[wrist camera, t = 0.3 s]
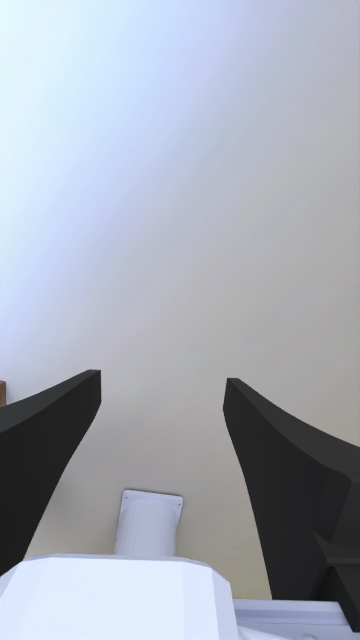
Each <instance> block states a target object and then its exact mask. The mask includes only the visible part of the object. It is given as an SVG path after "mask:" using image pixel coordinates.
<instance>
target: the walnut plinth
mask: <svg viewBox="0 0 360 640" xmlns="http://www.w3.org/2000/svg"><path fill="white" fill-rule="evenodd" d="M3 406H6V394H5V382H4V381H0V407H3Z"/></svg>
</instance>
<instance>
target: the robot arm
mask: <svg viewBox="0 0 360 640" xmlns="http://www.w3.org/2000/svg"><path fill="white" fill-rule="evenodd" d="M100 404H101V370H87V371H85V372H82V373H80V374H78V375H76V376H74V377H72V378H70V379H68V380H66V381H64V382H62V383H60V384H58V385H55V386H53V387H51V388H49V389H47V390H44V391H42V392H40V393H38V394H35V395H33V396H31V397H28V398H25V399H23V400H20V401H17V402H15V403H12V404H9V405H6V406H3V407H0V640H360V447H358V446H355V445H353V444H350V443H348V442H345V441H343V440H341V439H338V438H336V437H334V436H331V435H329V434H327V433H325V432H323V431H321V430H319V429H317V428H315V427H312V426H311V425H309V424H307V423H305V422H303V421H301V420H299V419H298V418H296V417H294V416H292V415H290V414H289V413H287V412H285V411H284V410H282V409H281V408H279V407H278V406H276V405H275V404H273V403H272V402H270V401H269V400H267V399H266V398H264V397H263V396H262V395H260V394H259V393H258V392H256V391H255V390H254V389H252V388H251V387H250V386H248V385H247V384H245V383H244V382H243V381H241V380H240V379H238V378H227V383H226V390H225V397H224V404H223V412H224V417H225V421H226V426H227V429H228V432H229V435H230V437H231V440H232V443H233V446H234V449H235V451H236V454H237V457H238V460H239V463H240V465H241V468H242V471H243V475H244V478H245V482H246V485H247V489H248V493H249V497H250V501H251V505H252V509H253V513H254V517H255V522H256V526H257V530H258V534H259V539H260V543H261V548H262V552H263V557H264V561H265V566H266V570H267V575H268V580H269V585H270V590H271V595H272V600H255V599H233V598H232V593H231V588H230V583H229V582H228V581H227V580H226V579H225V578H224V577H223V576H222V575H221V574H220V573H219V572H217V571H216V570H215V569H214V568H212V567H211V566H210V565H209V564H208V563H205V562H201V561H196V560H192V559H187V558H183V557H176V529H177V525H178V521H179V517H180V514H181V510H182V506H183V498H182V497H180V496H173V495H165V494H158V493H150V492H142V491H135V490H124V492H123V496H122V503H121V509H120V515H119V522H118V528H117V534H116V546H115V550H114V555H95V554H64V553H53V554H46V555H40V556H33V557H28V558H27V559H25V560H23V558H24V556H25V554H26V552H27V549H28V547H29V545H30V542H31V540H32V538H33V536H34V533H35V531H36V529H37V526H38V524H39V522H40V520H41V518H42V515H43V513H44V511H45V509H46V507H47V505H48V502H49V500H50V498H51V496H52V494H53V492H54V490H55V488H56V486H57V484H58V481H59V479H60V477H61V475H62V473H63V471H64V469H65V467H66V466H67V464H68V462H69V460H70V459H71V457H72V455H73V454H74V452H75V450H76V449H77V447H78V445H79V444H80V442H81V440H82V439H83V437H84V435H85V434H86V432H87V430H88V429H89V427H90V425H91V423H92V422H93V420H94V418H95V416H96V414H97V411H98V409H99V407H100Z"/></svg>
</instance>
